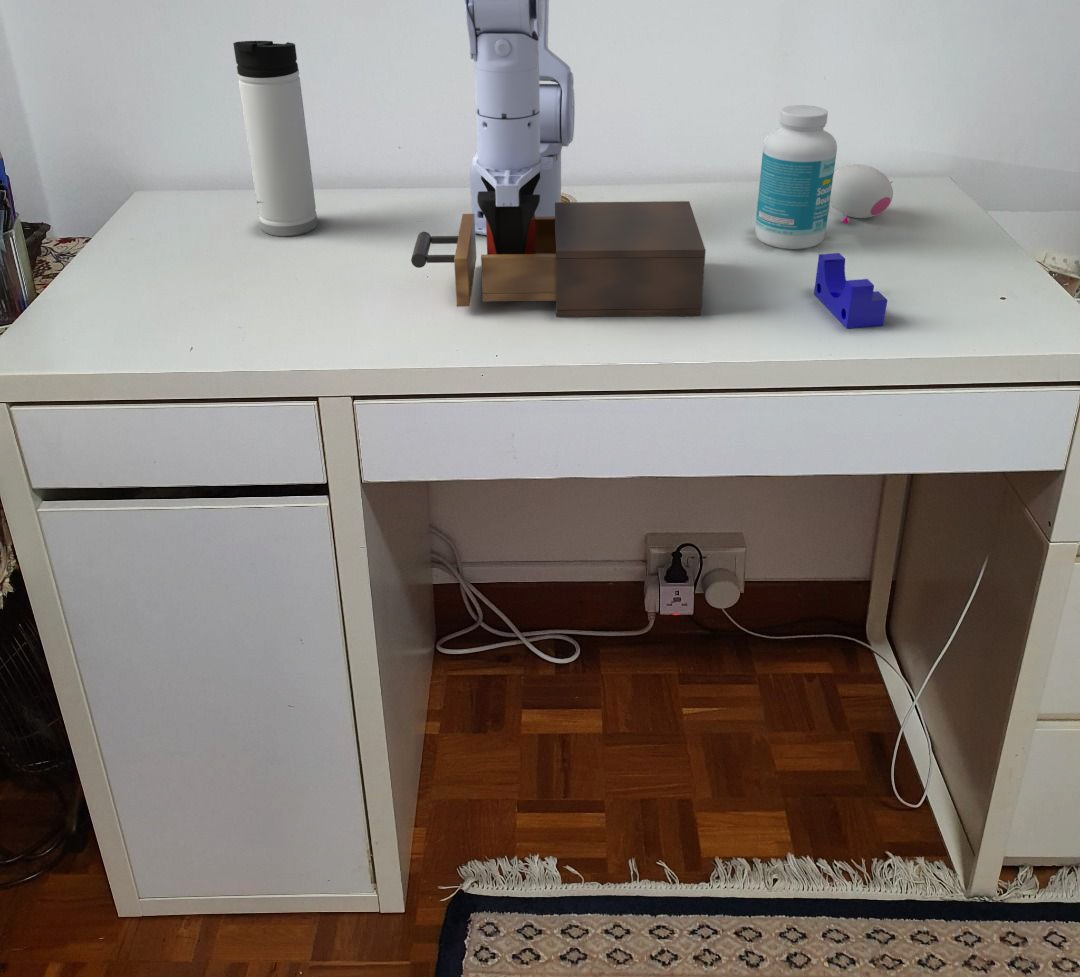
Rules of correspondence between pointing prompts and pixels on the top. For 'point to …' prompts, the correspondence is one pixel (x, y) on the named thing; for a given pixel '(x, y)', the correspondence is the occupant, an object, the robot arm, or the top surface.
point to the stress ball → (860, 191)
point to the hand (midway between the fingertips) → (511, 256)
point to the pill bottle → (796, 179)
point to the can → (529, 244)
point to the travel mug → (276, 136)
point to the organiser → (628, 259)
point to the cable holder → (848, 294)
